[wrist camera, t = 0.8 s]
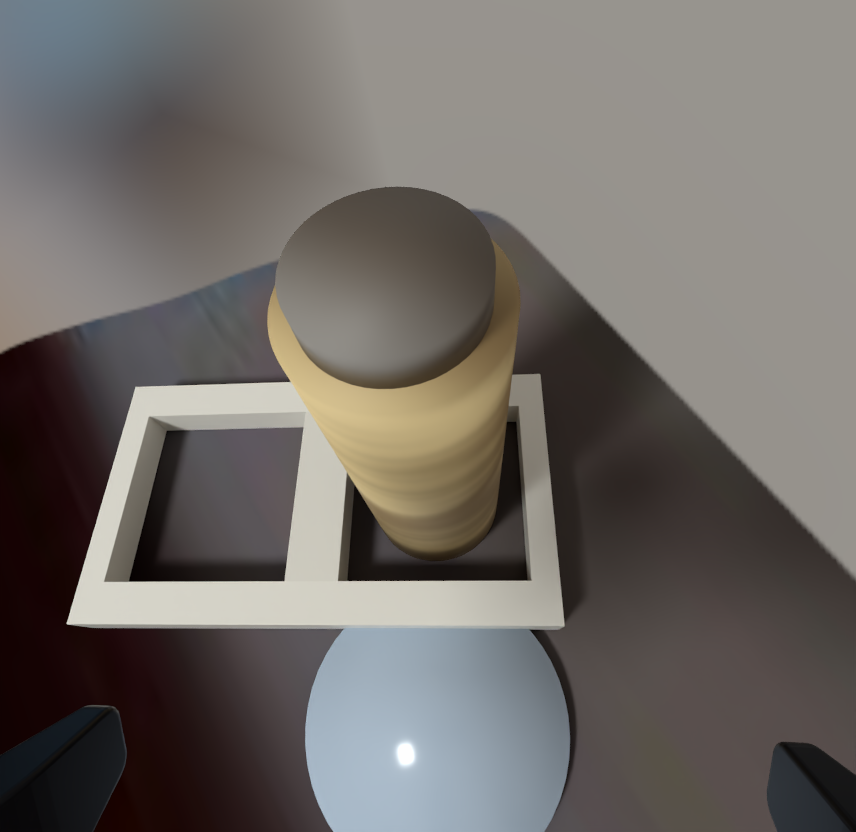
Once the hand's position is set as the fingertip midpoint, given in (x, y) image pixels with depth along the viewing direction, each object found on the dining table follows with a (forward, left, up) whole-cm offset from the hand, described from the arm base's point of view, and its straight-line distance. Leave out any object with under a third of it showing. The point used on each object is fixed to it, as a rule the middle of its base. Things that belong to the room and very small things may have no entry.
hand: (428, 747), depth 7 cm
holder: (+5, +8, -13) cm, 16 cm away
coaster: (-1, +1, -13) cm, 13 cm away
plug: (+7, +3, -13) cm, 15 cm away
